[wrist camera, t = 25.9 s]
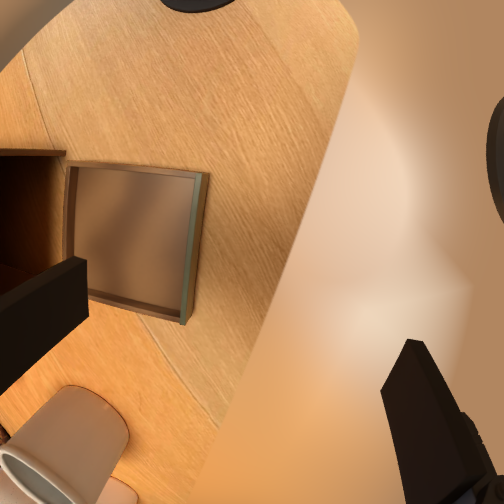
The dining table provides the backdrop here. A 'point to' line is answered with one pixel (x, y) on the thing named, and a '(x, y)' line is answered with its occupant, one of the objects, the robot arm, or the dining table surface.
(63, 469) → the utensil holder
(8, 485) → the vase
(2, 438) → the bread roll
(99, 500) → the mug
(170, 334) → the dining table surface
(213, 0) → the coaster
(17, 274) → the cabinet
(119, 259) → the drawer
